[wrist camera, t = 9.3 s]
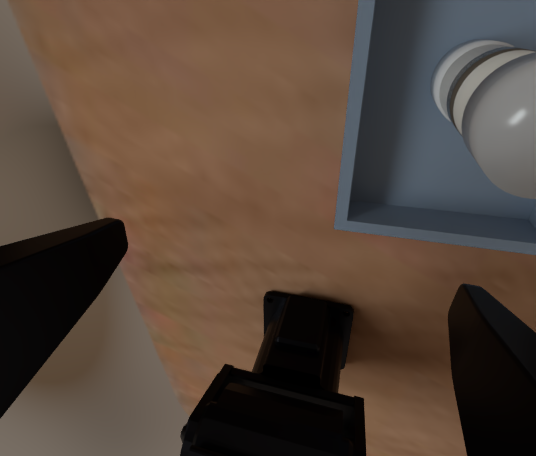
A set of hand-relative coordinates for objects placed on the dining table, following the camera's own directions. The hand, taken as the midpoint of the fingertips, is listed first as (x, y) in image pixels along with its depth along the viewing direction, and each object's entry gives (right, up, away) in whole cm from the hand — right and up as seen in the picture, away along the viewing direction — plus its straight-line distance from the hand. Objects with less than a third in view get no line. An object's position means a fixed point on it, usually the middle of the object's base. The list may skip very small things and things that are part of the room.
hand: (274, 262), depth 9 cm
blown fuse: (+9, +8, +6) cm, 13 cm away
